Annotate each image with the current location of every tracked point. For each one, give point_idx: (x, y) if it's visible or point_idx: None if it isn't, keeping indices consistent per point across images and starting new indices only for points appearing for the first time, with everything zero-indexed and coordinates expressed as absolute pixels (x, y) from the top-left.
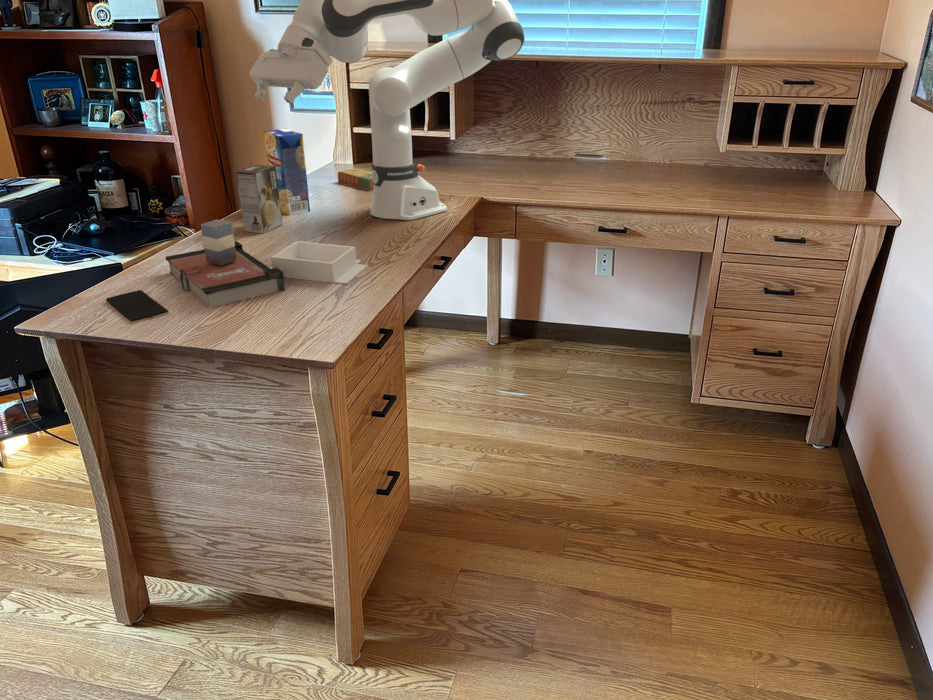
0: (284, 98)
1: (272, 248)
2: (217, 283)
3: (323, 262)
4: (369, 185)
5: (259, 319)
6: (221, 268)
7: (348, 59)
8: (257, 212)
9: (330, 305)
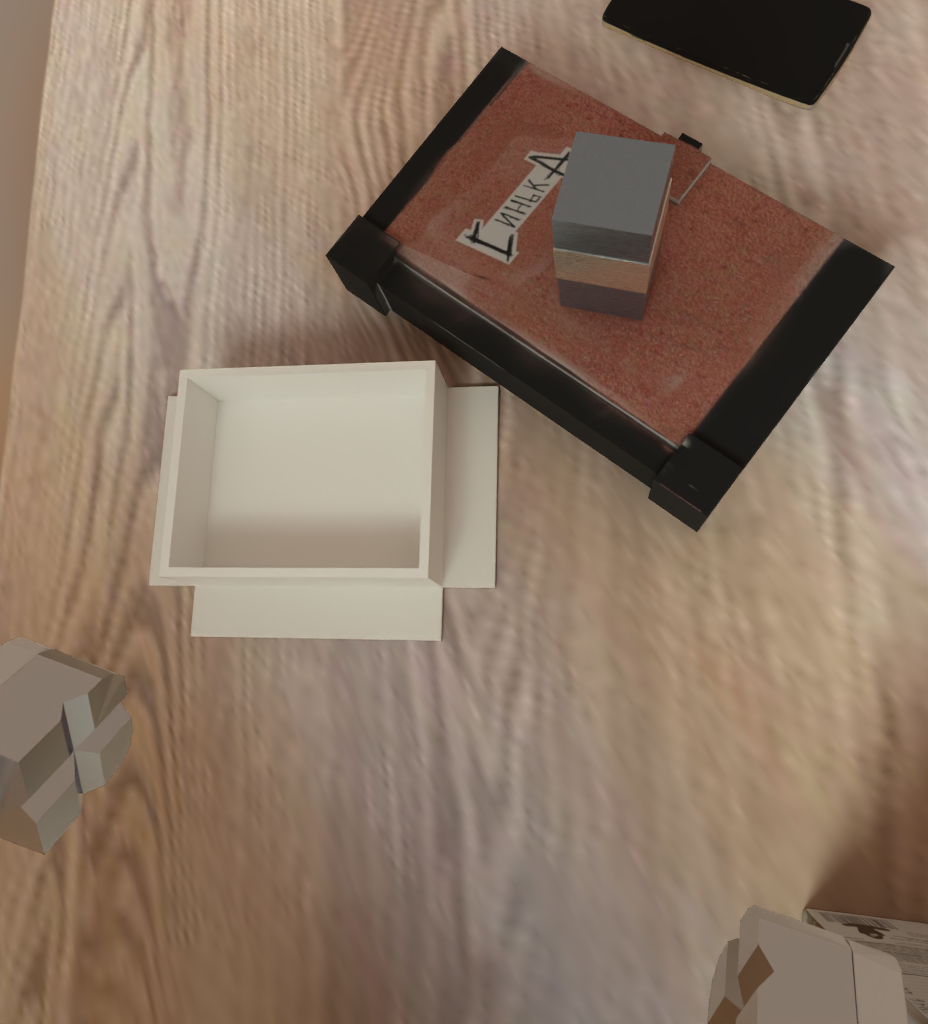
0: (107, 672)
1: (626, 690)
2: (501, 112)
3: (215, 369)
4: None
5: (319, 84)
6: None
7: None
8: (861, 942)
9: (163, 232)
